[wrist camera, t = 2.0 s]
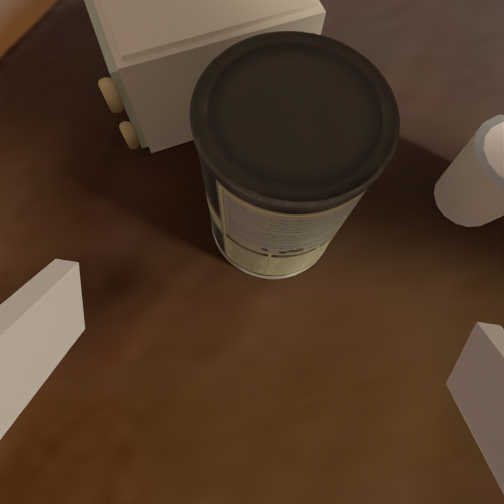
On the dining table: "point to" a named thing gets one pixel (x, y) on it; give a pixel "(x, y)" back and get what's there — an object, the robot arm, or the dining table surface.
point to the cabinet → (177, 54)
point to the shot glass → (475, 179)
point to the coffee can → (288, 145)
